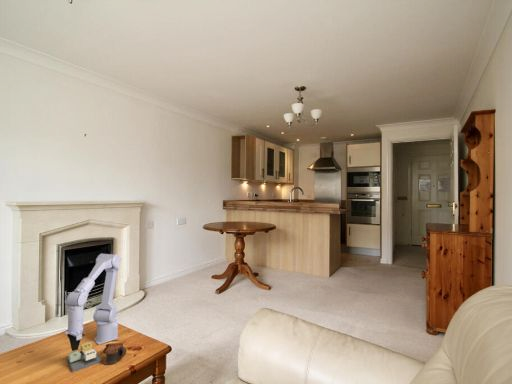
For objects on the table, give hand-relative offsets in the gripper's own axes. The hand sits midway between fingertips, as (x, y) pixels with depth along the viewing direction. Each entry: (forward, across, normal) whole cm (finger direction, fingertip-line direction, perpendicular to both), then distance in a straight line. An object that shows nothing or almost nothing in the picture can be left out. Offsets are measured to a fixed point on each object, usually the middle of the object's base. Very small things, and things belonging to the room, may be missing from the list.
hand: (74, 349), depth 124 cm
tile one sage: (+4, 0, 0) cm, 4 cm away
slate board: (+6, +1, +3) cm, 7 cm away
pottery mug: (+6, +9, +14) cm, 18 cm away
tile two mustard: (+3, -3, +5) cm, 7 cm away
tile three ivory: (+3, +5, +5) cm, 7 cm away
